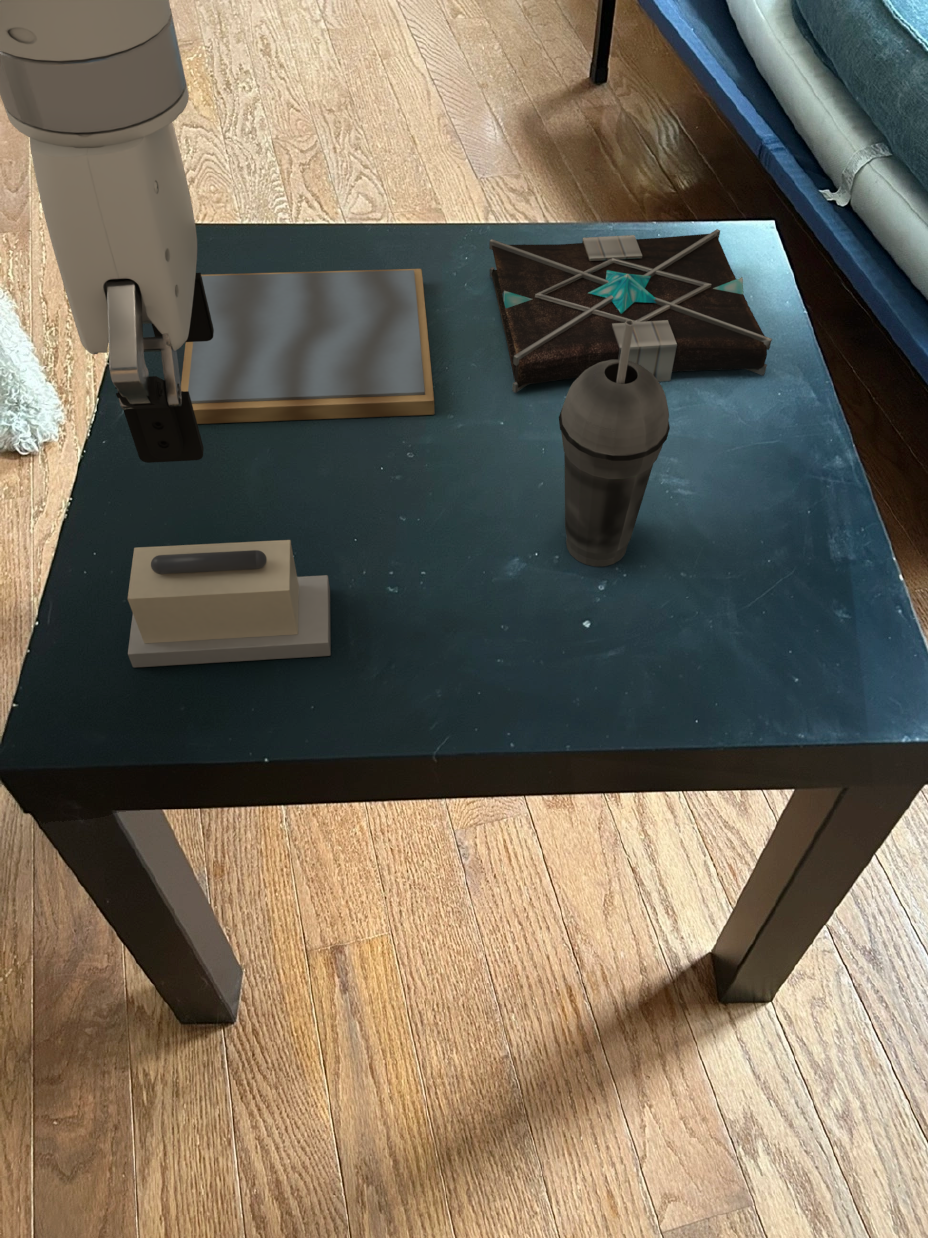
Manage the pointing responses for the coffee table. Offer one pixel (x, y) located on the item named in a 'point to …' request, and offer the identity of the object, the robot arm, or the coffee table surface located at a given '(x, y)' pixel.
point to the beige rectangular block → (225, 605)
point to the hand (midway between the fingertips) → (179, 395)
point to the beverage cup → (609, 453)
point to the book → (624, 307)
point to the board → (311, 347)
